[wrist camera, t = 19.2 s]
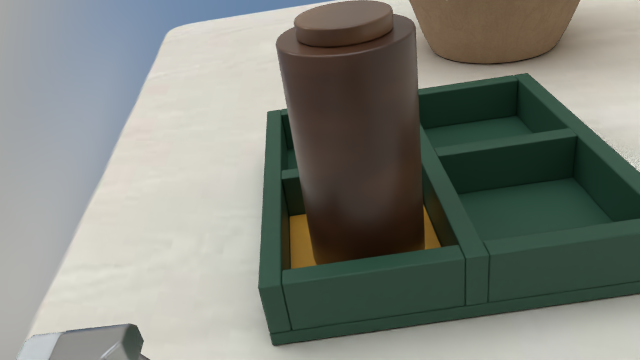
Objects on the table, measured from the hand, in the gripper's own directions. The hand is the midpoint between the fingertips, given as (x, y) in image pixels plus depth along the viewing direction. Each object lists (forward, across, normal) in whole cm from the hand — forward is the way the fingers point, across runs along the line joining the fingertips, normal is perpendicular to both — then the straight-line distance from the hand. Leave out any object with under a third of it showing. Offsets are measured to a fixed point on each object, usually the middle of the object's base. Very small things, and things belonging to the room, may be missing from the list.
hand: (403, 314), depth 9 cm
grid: (+15, -4, +9) cm, 18 cm away
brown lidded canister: (+12, 0, +8) cm, 14 cm away
